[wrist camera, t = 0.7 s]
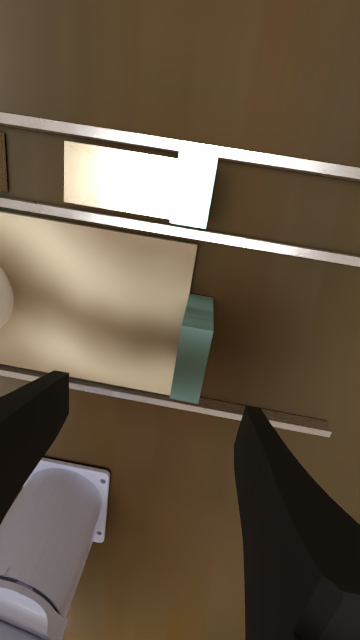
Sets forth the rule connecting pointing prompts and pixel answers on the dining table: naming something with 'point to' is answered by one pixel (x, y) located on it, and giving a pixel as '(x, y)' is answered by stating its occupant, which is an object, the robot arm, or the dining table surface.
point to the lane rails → (164, 202)
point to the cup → (5, 298)
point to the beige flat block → (104, 306)
